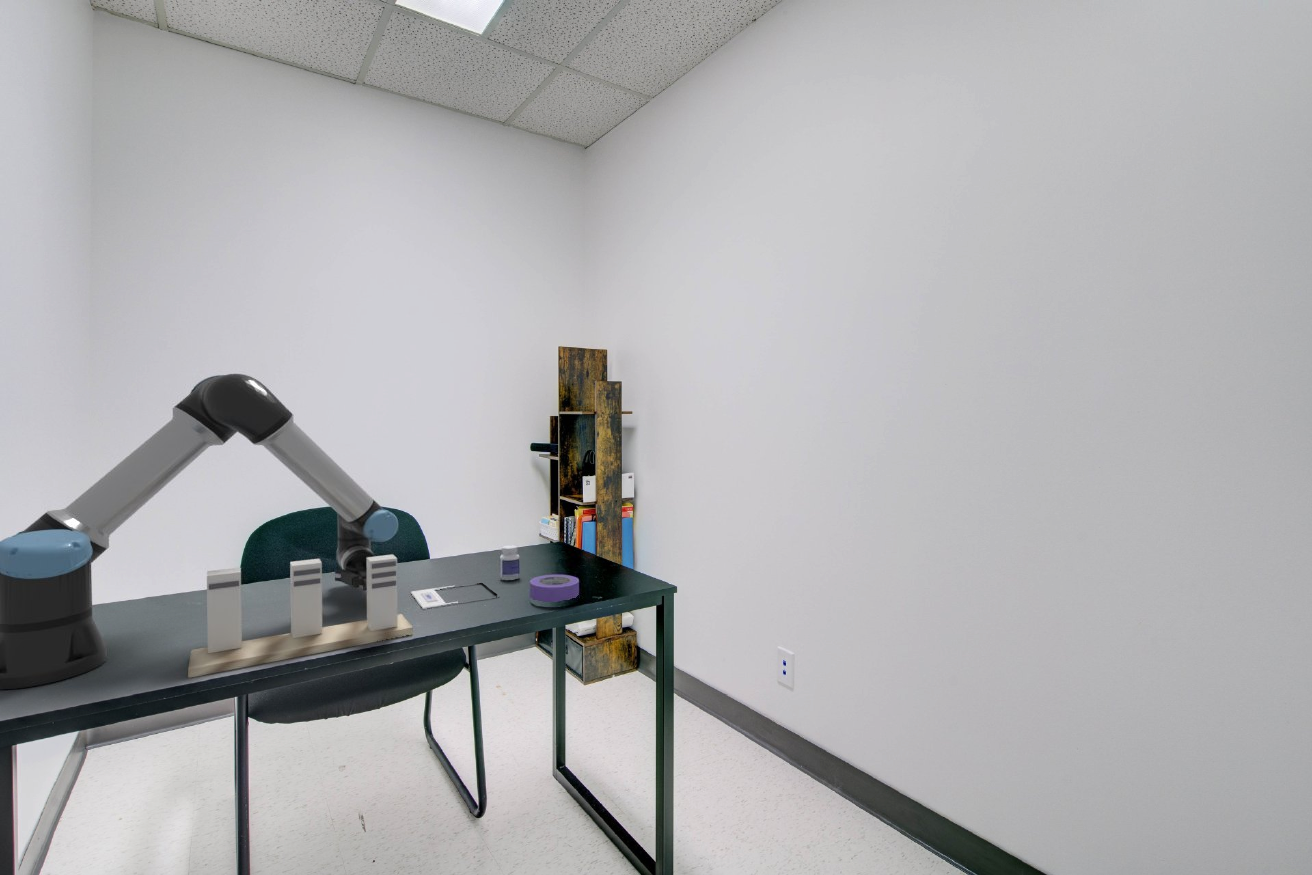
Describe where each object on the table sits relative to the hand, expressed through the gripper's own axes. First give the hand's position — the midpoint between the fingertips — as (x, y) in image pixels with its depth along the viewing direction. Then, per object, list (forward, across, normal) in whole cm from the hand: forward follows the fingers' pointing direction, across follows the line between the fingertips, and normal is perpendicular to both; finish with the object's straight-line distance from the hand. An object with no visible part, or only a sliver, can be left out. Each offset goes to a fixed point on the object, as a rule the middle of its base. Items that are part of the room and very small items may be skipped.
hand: (377, 588), depth 126 cm
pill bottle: (-21, -37, -8) cm, 43 cm away
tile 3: (+5, 0, -7) cm, 8 cm away
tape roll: (+3, -39, -9) cm, 40 cm away
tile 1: (+1, +26, -7) cm, 27 cm away
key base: (+4, +13, -8) cm, 16 cm away
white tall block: (+1, +13, -7) cm, 15 cm away
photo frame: (-13, -20, -9) cm, 25 cm away
